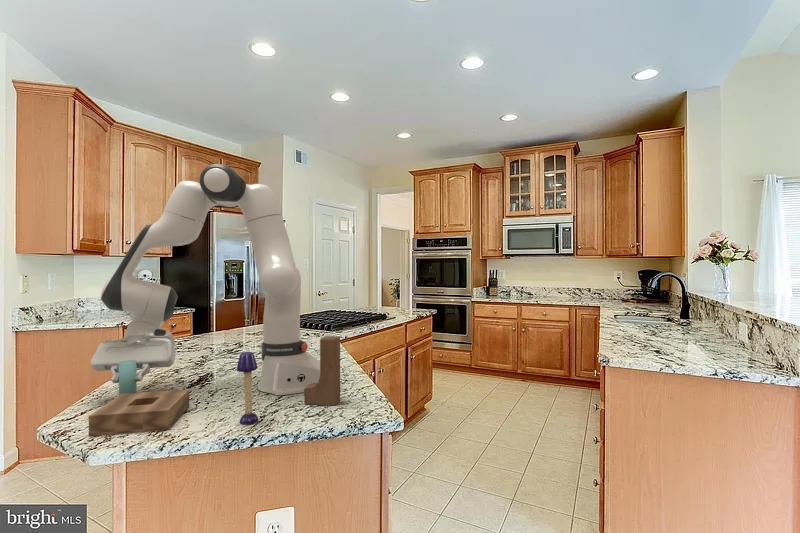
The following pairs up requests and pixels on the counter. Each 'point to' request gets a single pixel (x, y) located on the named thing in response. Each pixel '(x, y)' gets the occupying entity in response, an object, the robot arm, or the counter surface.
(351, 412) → the counter surface
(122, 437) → the counter surface
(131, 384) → the pin
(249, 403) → the toy lamp
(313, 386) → the wooden block
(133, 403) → the bore block
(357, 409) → the counter surface
